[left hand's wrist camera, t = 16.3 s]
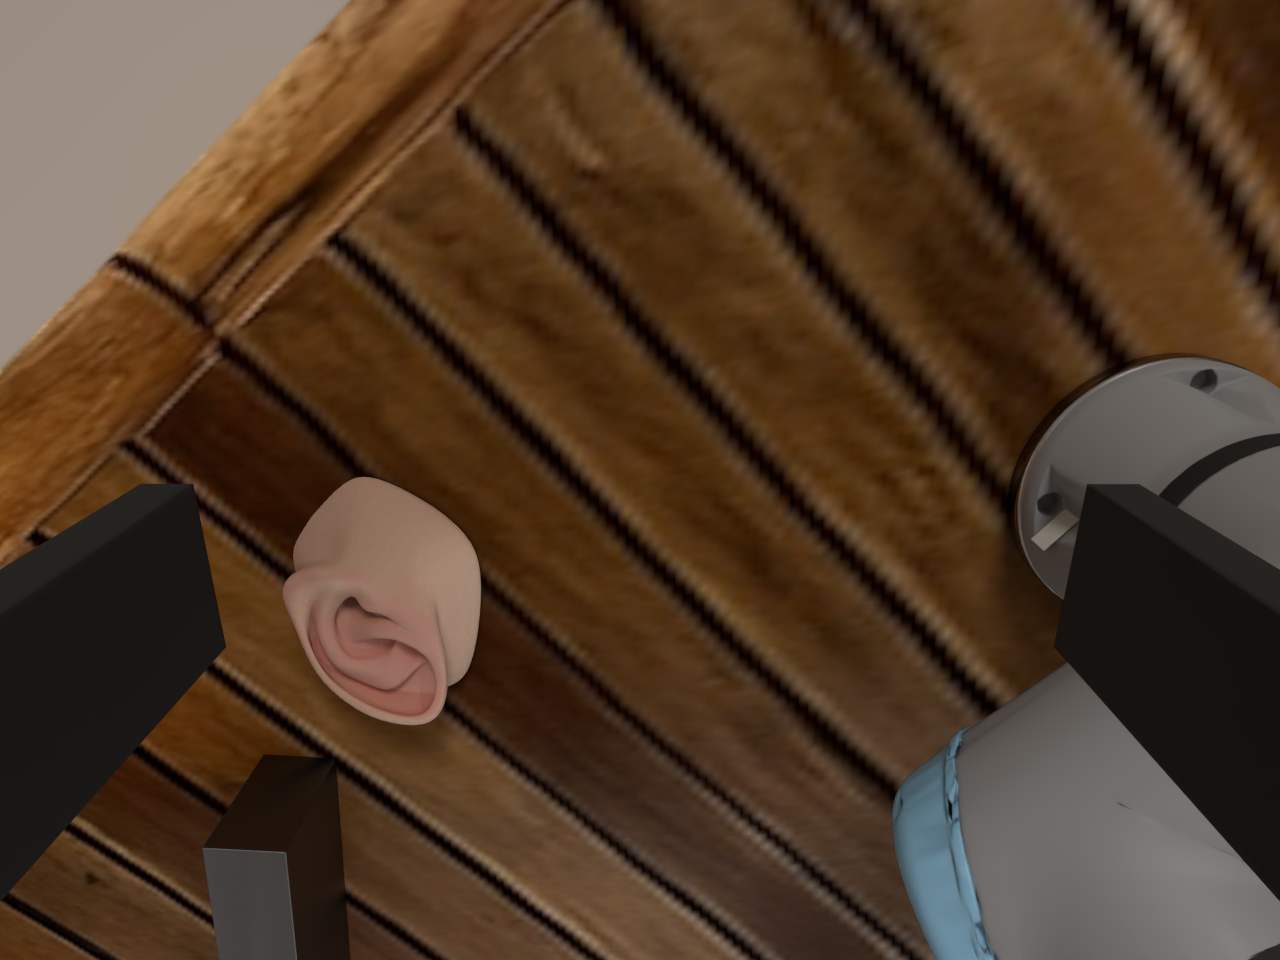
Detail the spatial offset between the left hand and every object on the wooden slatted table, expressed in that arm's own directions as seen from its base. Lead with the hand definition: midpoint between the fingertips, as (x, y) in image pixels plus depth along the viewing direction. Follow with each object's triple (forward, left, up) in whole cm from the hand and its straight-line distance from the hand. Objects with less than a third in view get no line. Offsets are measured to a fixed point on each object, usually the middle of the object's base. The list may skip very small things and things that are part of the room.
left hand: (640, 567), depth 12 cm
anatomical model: (-2, +22, -32) cm, 39 cm away
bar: (-14, +47, -32) cm, 58 cm away
